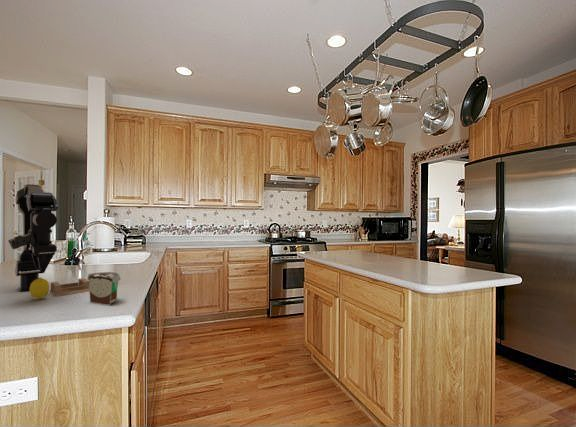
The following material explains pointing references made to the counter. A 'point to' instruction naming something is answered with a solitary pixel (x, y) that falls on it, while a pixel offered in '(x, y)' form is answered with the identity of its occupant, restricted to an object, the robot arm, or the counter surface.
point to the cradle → (69, 287)
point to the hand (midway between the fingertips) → (40, 270)
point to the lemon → (39, 288)
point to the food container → (103, 287)
